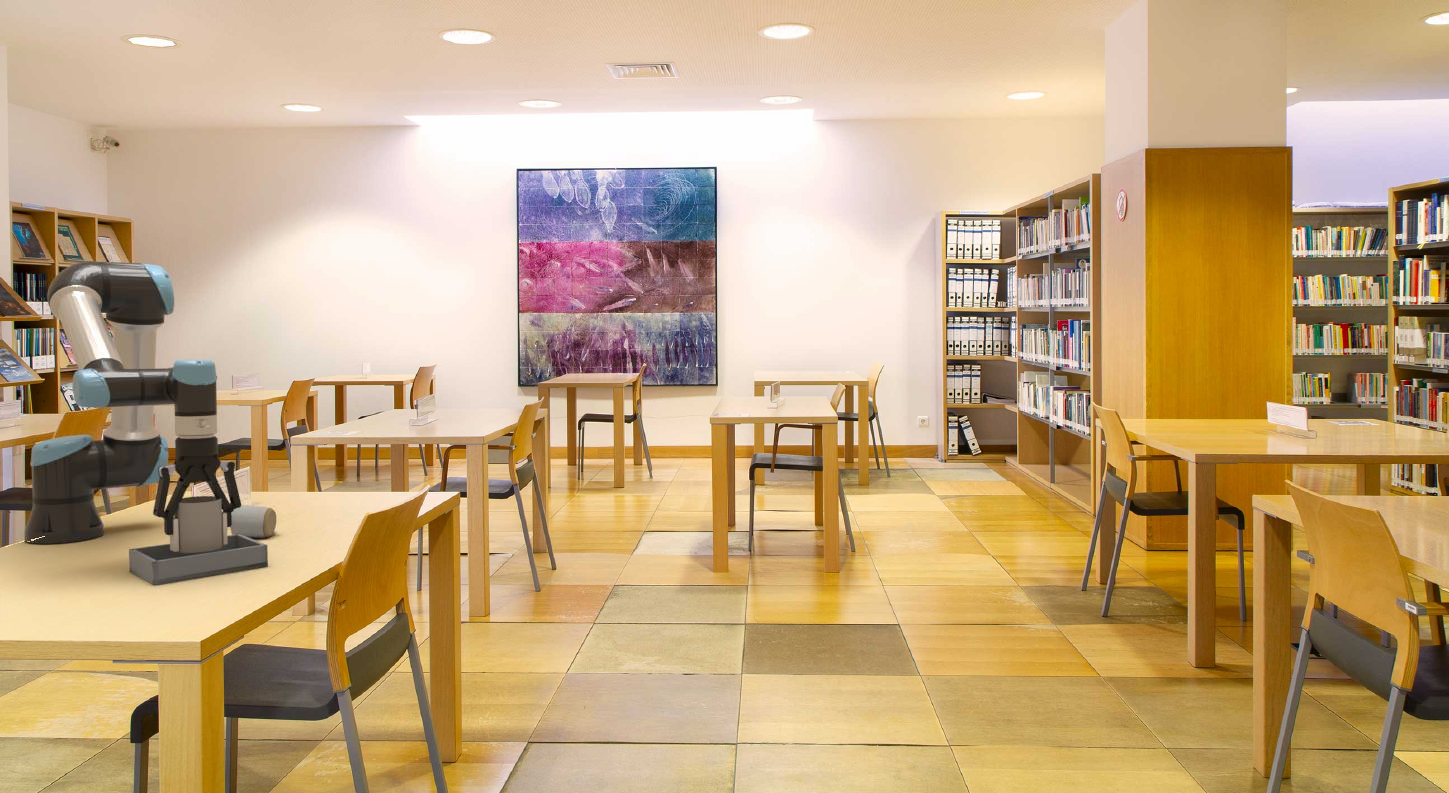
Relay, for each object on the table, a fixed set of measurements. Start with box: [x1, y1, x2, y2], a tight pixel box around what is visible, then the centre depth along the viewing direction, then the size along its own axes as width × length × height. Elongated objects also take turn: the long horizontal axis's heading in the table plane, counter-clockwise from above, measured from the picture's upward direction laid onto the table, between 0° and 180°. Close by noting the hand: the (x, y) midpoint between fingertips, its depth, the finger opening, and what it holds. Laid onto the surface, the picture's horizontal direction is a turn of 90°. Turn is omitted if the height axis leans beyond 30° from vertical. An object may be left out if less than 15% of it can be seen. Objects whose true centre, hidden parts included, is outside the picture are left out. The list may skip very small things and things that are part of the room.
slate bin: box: [128, 534, 269, 586], centre depth 193 cm, size 15×21×4 cm
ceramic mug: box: [230, 504, 277, 539], centre depth 224 cm, size 11×8×8 cm
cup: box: [174, 495, 223, 553], centre depth 192 cm, size 8×8×10 cm
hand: (199, 546), depth 193 cm, fingers closed on cup, 8 cm apart
